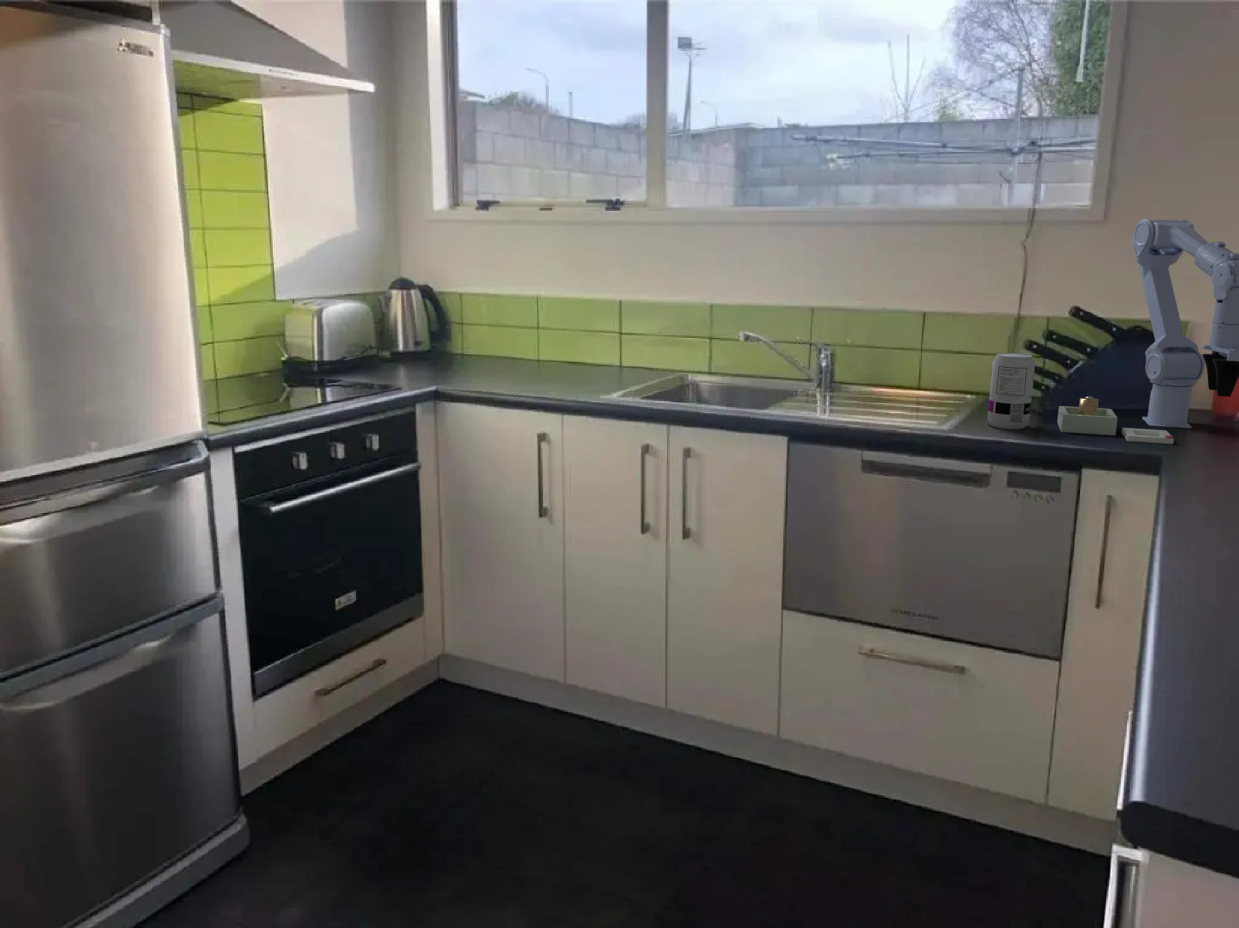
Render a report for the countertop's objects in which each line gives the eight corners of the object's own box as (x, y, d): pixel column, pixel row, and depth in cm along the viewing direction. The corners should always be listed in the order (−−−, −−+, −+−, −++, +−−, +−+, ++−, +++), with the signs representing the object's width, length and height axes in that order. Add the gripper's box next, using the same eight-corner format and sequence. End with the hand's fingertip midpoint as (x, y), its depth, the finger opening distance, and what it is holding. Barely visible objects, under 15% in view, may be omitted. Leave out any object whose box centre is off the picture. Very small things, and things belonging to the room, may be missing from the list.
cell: (1076, 425, 210) (1079, 394, 208) (1094, 427, 208) (1098, 396, 207) (1076, 428, 206) (1080, 397, 205) (1095, 430, 205) (1099, 398, 204)
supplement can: (978, 423, 214) (984, 353, 211) (1008, 420, 217) (1015, 351, 214) (1006, 431, 207) (1013, 358, 203) (1037, 428, 210) (1044, 356, 207)
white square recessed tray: (1121, 435, 204) (1122, 426, 203) (1165, 437, 201) (1166, 429, 201) (1126, 443, 196) (1128, 434, 196) (1172, 446, 194) (1174, 437, 193)
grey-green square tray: (1057, 424, 214) (1059, 406, 213) (1108, 427, 211) (1111, 409, 210) (1060, 433, 205) (1063, 414, 204) (1115, 437, 201) (1117, 417, 200)
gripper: (1198, 319, 202) (1188, 386, 205) (1214, 326, 189) (1204, 398, 192) (1238, 320, 200) (1228, 388, 203) (1257, 327, 186) (1246, 400, 190)
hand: (1219, 393), depth 197 cm, fingers open, 7 cm apart
